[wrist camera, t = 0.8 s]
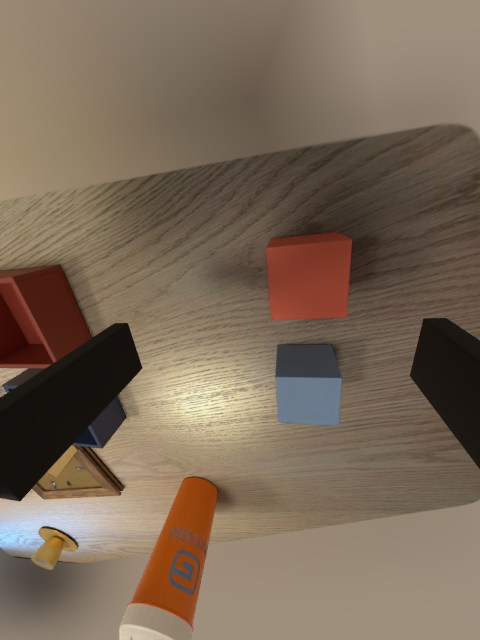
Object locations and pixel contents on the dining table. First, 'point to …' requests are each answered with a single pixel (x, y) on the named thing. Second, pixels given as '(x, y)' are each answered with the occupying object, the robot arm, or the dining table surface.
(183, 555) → the shaker bottle
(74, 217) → the dining table surface
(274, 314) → the red block
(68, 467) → the picture frame
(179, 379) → the dining table surface
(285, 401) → the blue block
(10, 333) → the red bin
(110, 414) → the blue bin
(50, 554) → the cup
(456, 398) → the robot arm
